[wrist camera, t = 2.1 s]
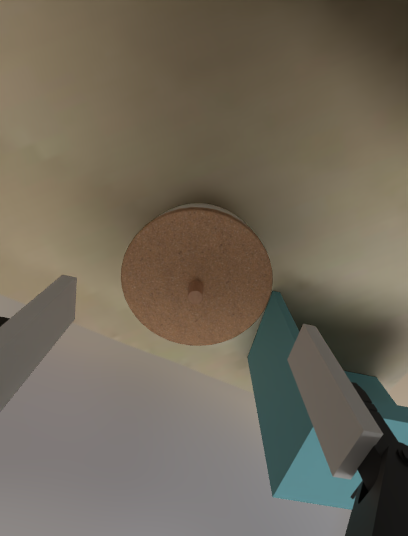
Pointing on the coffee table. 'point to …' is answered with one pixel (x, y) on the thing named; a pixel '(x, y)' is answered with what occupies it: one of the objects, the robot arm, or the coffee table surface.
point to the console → (302, 417)
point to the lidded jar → (197, 275)
